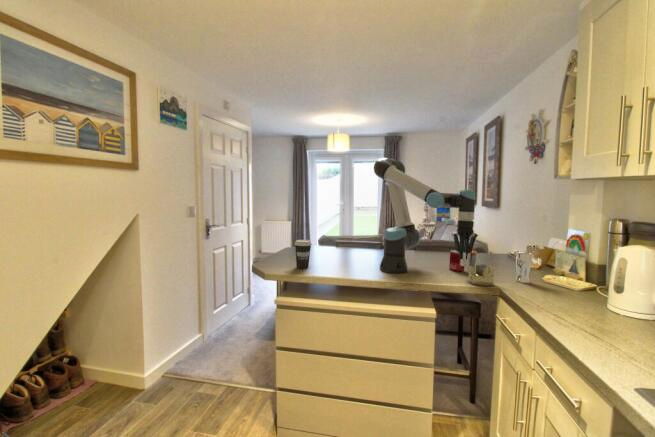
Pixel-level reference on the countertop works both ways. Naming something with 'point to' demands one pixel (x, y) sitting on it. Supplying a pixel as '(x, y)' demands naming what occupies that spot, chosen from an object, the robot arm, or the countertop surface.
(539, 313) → the countertop surface
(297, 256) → the coffee cup
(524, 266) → the beer glass
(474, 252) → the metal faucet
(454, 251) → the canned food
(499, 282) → the countertop surface
